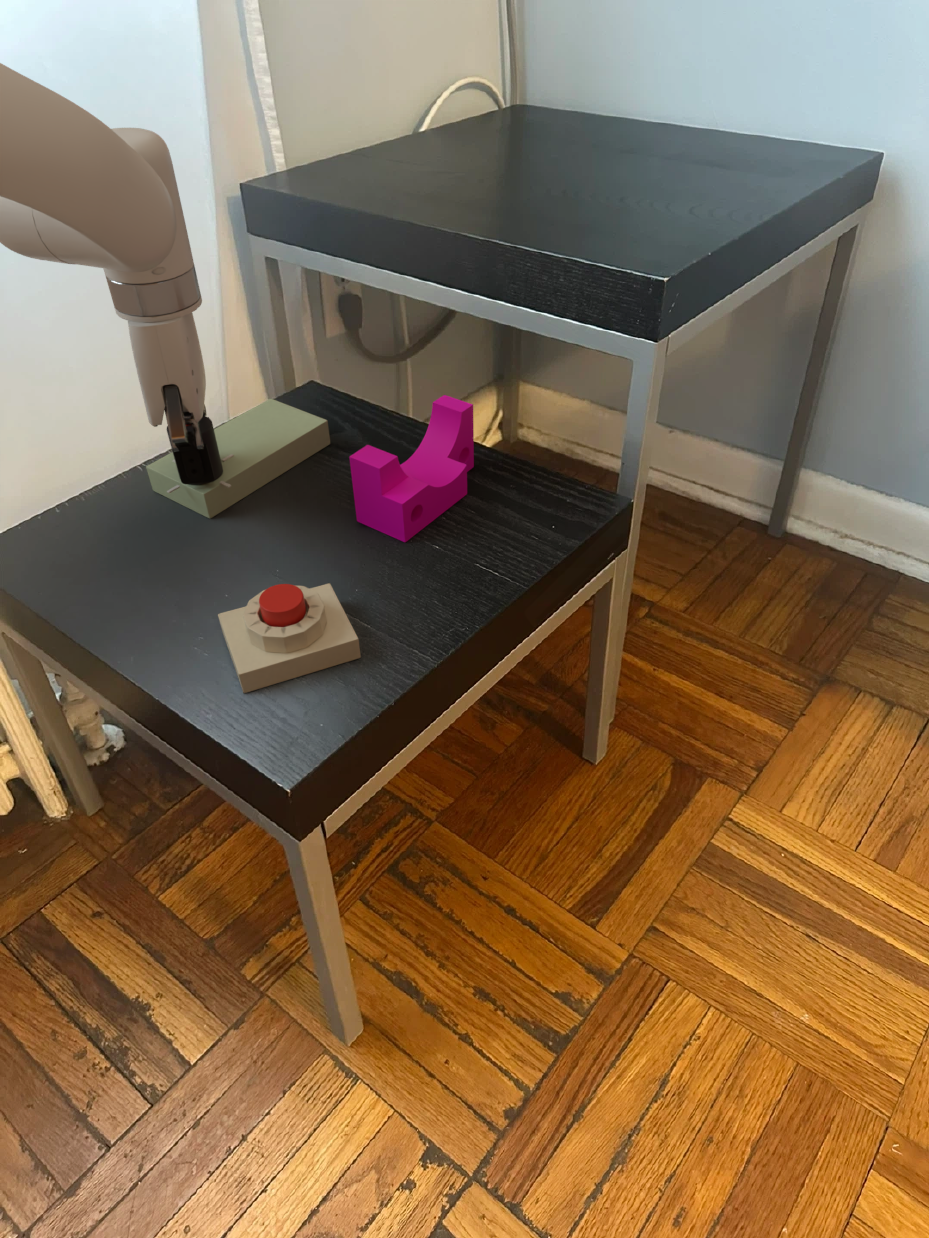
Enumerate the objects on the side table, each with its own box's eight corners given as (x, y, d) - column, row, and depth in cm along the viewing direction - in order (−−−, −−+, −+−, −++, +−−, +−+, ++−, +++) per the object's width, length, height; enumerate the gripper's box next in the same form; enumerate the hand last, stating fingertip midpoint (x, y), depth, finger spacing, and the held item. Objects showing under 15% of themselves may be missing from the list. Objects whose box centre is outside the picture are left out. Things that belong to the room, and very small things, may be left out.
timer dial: (231, 474, 90) (219, 423, 86) (192, 490, 88) (178, 439, 84) (209, 457, 93) (197, 407, 89) (171, 472, 90) (157, 422, 87)
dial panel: (203, 532, 88) (196, 505, 86) (138, 498, 92) (130, 473, 90) (338, 447, 100) (335, 422, 97) (274, 421, 104) (270, 397, 102)
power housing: (243, 693, 71) (234, 658, 68) (222, 632, 77) (213, 597, 74) (361, 657, 74) (356, 622, 71) (332, 601, 80) (327, 566, 77)
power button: (268, 633, 71) (264, 616, 70) (257, 606, 74) (254, 590, 72) (311, 620, 72) (308, 604, 71) (299, 594, 75) (296, 578, 74)
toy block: (405, 542, 86) (400, 477, 81) (356, 521, 89) (349, 456, 84) (492, 474, 95) (493, 411, 90) (446, 456, 98) (444, 394, 93)
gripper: (122, 259, 83) (168, 430, 96) (98, 333, 71) (155, 519, 83) (202, 253, 84) (238, 423, 96) (193, 325, 72) (235, 510, 84)
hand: (199, 465), depth 90 cm, fingers closed on timer dial, 4 cm apart
